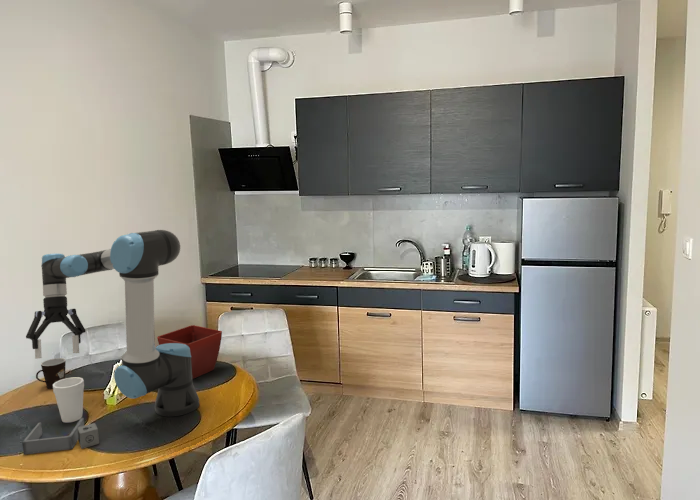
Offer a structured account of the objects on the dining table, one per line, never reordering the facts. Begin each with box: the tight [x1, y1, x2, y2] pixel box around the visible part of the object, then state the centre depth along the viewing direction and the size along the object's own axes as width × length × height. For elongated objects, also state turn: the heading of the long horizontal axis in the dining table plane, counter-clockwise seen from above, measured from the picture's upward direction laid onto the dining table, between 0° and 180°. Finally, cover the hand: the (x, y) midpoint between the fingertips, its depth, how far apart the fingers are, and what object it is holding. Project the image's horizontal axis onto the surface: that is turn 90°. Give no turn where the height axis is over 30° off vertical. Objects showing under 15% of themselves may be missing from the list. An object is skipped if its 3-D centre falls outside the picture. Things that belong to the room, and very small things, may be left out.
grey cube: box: [77, 422, 100, 449], centre depth 166 cm, size 5×5×5 cm
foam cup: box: [52, 376, 85, 423], centre depth 182 cm, size 10×9×13 cm
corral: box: [21, 417, 85, 455], centre depth 167 cm, size 14×13×4 cm
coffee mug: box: [35, 357, 66, 390], centre depth 211 cm, size 12×9×10 cm
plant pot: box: [156, 324, 223, 380], centre depth 222 cm, size 19×19×17 cm
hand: (57, 355), depth 190 cm, fingers open, 13 cm apart
